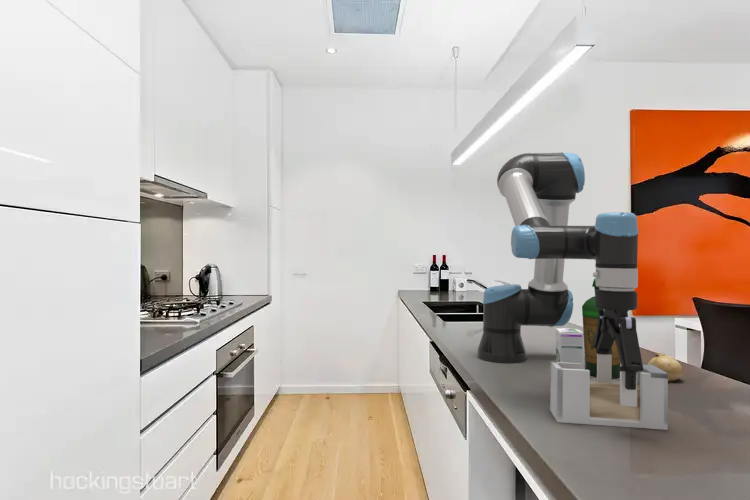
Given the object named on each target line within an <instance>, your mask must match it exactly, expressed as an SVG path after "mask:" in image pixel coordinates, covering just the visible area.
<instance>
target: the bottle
mask: <svg viewBox="0 0 750 500" xmlns="http://www.w3.org/2000/svg"><path fill="white" fill-rule="evenodd" d="M592 287H593V288H594V292H595V291H596V290H597V289H599V287H597V286H596V278H593V282H592ZM599 309H601V308H597V307H596V306H595V295H594V296H592V297H590V298H588V299H587V300H586V301H584V303H583V304H582V306H581V312H582V313H581V315H582V328H583V329H582V330H583V331H582V332H583V334H584V370H589V371H590V376H593V377H596V378H597V354H598V353H597V352H596V349H595V348H594V347H593V345H594V340H595V334H596V328H597V323H598V311H599ZM611 349H612V351H613V354H608V355H612V377H611V379H614V378H618V377H620V371H619V370H618V369H619V367H620V366H621V361H620V357H619V353H618V350H617V346H616V342H615V340H614V342H613V345H612V348H611Z"/></svg>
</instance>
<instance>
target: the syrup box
mask: <svg viewBox="0 0 750 500" xmlns="http://www.w3.org/2000/svg"><path fill="white" fill-rule="evenodd" d="M555 362H570V363H581V364H582V369H584V370H585V351H584V333H583V331H581V330H580V329H578V328H571V327H561V328H560V327H559V328H557V327H555Z"/></svg>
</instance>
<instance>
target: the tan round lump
mask: <svg viewBox="0 0 750 500" xmlns="http://www.w3.org/2000/svg"><path fill="white" fill-rule="evenodd" d="M647 365H654V366H655V367H657V368H659V369H661V370H663V371H664V372H666V373H668V383H669V382H670V383H672V382H676V381H677V380H679V379H680V378H681V377H682V375H683V367H682V365H681V363H680V362H679V361H678V360H677V359H675V358H674V357H671V356H669V355H667V354H665V353H664V352H663V353H660V352H655V354H654V357H652V358H650V360H649V361H648V362H647Z"/></svg>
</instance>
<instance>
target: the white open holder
mask: <svg viewBox="0 0 750 500" xmlns="http://www.w3.org/2000/svg"><path fill="white" fill-rule="evenodd" d="M549 376H550V386H549V388H550V391H549V393H550V396H549V397H550V399H549V401H550V402H549V404H550V405H549V407H550V408H549V411H550V412H551V414H552V416H553V418H554V420H555V421H556V422H557V423H563V424H577V425H579V424H580V425H593V426H604V427H620V428H622V427H623V428H634V429H651V430H661V431H663V430H665V431H668V429H669V428H668V427H669V426H668V421H669V419H668V417H669V416H668V415H669V413H668V409H669V407H668V406H669V405H668V404H669V400H668V399H669V395H668V394H669V392H668V391H669V388H668V387H669V385H668V383H669V382H668V373H666V372H664V371H663V370H661V369H659V368H657V367H655V366H654V365H648V364H643V371H639V372H637V385H640V420H633V419H617V418H602V417H590V382H591V381H590V379H591V375H590V371H589V370H585V368H584V369H582V364H581V363H570V362H556V361H550V375H549Z"/></svg>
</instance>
